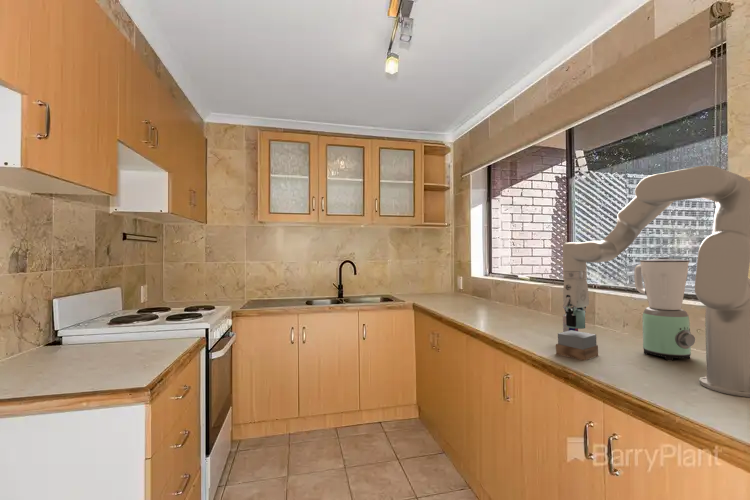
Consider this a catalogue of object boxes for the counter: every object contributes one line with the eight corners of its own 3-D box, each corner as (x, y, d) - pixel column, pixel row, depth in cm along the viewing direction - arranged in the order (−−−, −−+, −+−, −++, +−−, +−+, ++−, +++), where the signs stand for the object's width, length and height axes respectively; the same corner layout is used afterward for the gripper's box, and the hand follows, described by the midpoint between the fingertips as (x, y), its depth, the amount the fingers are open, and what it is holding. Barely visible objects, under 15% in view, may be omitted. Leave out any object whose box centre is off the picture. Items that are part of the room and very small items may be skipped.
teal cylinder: (588, 327, 126) (588, 310, 126) (580, 329, 123) (579, 312, 123) (571, 324, 131) (571, 308, 131) (563, 326, 128) (562, 310, 128)
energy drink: (580, 346, 137) (579, 316, 137) (566, 346, 138) (565, 316, 138) (575, 343, 142) (574, 314, 142) (561, 342, 143) (560, 313, 143)
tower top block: (596, 345, 125) (596, 334, 125) (583, 349, 120) (582, 338, 120) (571, 340, 133) (571, 330, 133) (558, 344, 128) (557, 333, 128)
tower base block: (598, 356, 125) (597, 345, 125) (584, 361, 120) (584, 350, 120) (569, 350, 134) (569, 340, 134) (556, 355, 128) (555, 344, 128)
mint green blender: (708, 361, 116) (704, 257, 117) (676, 364, 113) (673, 258, 114) (651, 346, 135) (649, 257, 135) (623, 349, 132) (621, 257, 132)
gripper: (573, 277, 119) (574, 330, 119) (596, 275, 129) (597, 323, 128) (552, 276, 125) (553, 326, 125) (575, 274, 135) (576, 320, 135)
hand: (575, 324), depth 127 cm, fingers closed on teal cylinder, 6 cm apart
